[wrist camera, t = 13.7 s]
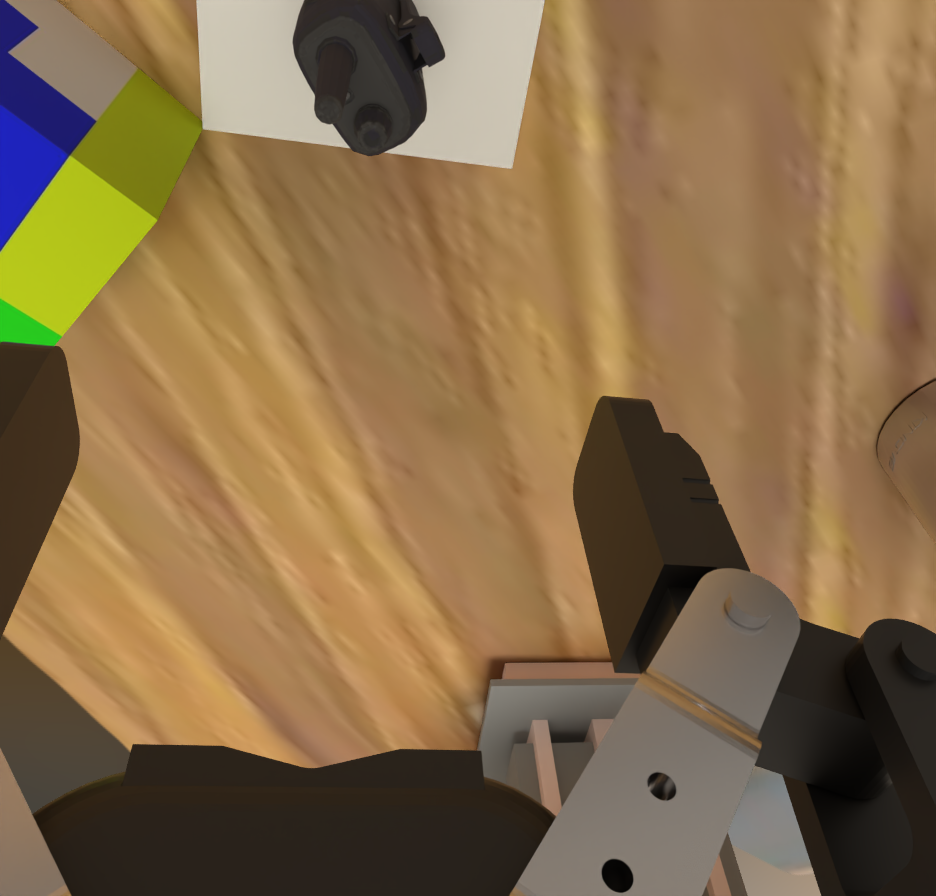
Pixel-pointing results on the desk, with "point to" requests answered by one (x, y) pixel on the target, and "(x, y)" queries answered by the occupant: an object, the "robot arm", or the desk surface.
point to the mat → (446, 83)
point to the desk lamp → (563, 737)
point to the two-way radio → (367, 68)
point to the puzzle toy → (75, 165)
